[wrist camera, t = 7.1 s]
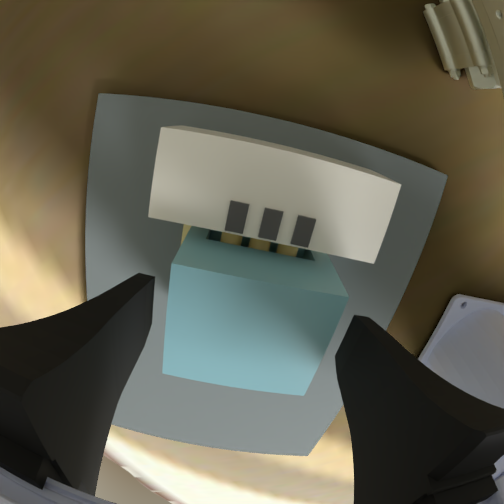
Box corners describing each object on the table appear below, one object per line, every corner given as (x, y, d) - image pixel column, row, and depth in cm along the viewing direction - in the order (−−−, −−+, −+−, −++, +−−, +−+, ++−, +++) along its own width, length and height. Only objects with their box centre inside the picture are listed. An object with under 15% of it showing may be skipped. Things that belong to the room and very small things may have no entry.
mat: (439, 172, 13) (449, 176, 12) (306, 448, 22) (307, 456, 21) (106, 94, 12) (97, 93, 11) (107, 414, 20) (104, 423, 19)
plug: (320, 241, 14) (349, 297, 9) (292, 326, 15) (303, 395, 11) (196, 215, 13) (171, 263, 9) (183, 306, 15) (162, 373, 11)
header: (371, 169, 12) (402, 185, 10) (330, 292, 15) (346, 332, 12) (181, 125, 12) (160, 127, 9) (161, 259, 14) (141, 294, 11)
